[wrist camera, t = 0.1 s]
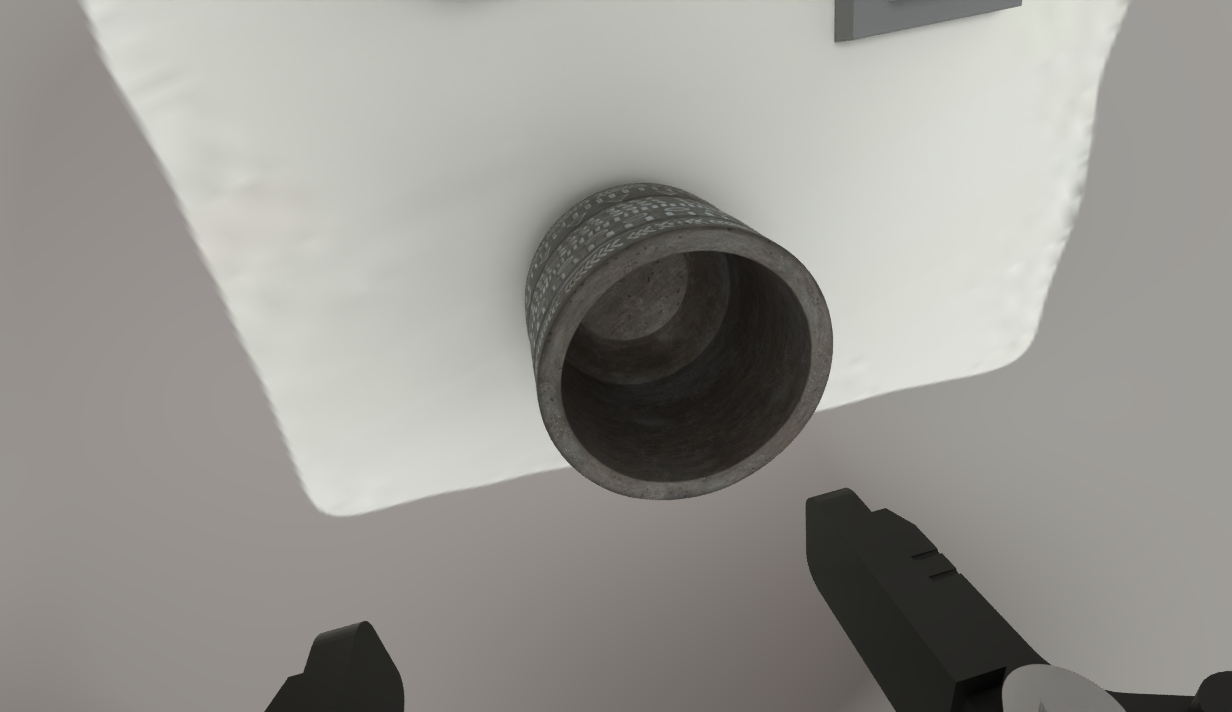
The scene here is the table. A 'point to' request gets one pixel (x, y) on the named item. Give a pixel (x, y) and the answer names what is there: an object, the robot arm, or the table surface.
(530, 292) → the planter
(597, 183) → the table surface
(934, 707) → the robot arm
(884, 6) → the keypad
